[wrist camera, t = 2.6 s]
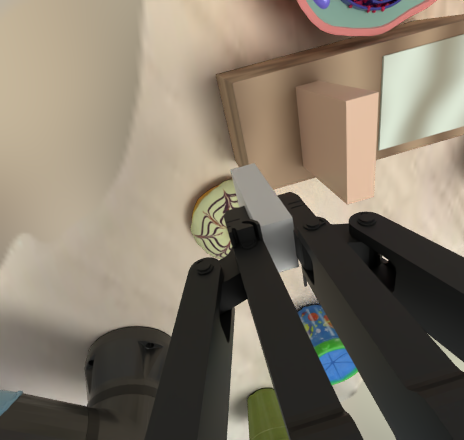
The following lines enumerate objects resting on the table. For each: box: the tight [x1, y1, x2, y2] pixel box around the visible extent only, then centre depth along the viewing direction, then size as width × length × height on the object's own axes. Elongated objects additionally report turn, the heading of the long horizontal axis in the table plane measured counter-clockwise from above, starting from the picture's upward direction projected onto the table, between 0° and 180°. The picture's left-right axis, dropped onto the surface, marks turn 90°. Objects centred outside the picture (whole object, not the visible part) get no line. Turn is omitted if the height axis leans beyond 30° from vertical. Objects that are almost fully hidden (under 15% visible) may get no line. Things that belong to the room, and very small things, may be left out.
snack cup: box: [297, 305, 358, 385], centre depth 50 cm, size 16×10×10 cm
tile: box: [296, 81, 379, 204], centre depth 22 cm, size 2×7×8 cm, turn 13°
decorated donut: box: [190, 179, 239, 259], centre depth 38 cm, size 11×12×4 cm
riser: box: [216, 14, 464, 190], centre depth 30 cm, size 23×10×10 cm, turn 103°
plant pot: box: [247, 388, 289, 440], centre depth 60 cm, size 12×12×11 cm
